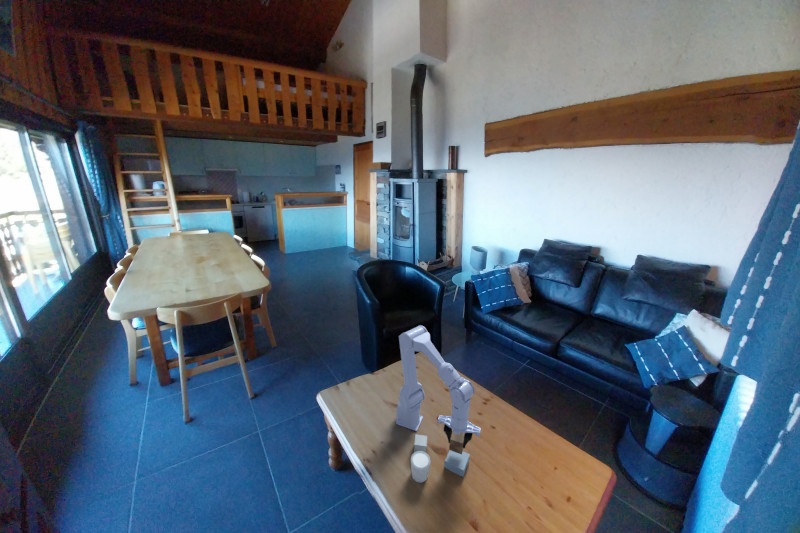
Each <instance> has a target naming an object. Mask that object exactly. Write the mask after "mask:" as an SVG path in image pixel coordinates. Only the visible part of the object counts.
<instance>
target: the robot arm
mask: <svg viewBox="0 0 800 533" xmlns="http://www.w3.org/2000/svg"><path fill="white" fill-rule="evenodd" d="M398 341H399V349H400V359H401V366H402V375H403V385H402V387H401V388H400V390H399V397H398V403H397V406H396V421H395V424H396V425H397V426H398V425H399V426H401V427H404V428H405V429H409V430H412V431H415V432H417V431H418V430H419V427H420V425H421V423H422V421H423V419H424V416H423V415H421V404H422V403H423V401H424V400H425V398H426V394H425V391H424V388H423V385H422V384H421V383H420V382H419V381H418V373H417V366H416V356H415V352H420V353H423V354H424V355H425V357H426V358H428V359H429V361H430V362H431V363H432V365H434V366H435V367H436V368H437V375H438V376H439V378H440V379H441V381H442V382H443V383H444V385H445V386H446V387H447V388H448V390H449V396H450V398H451V403H452V405H451V413H450V414H451V415H441V414H439V416H438V418H437V423H438V424H444V426H443V432H444V433H445V435H446V437H447V441H448V442H447V443H448V444H450V438H451V435H452V431H453V430H454V433H456V434H460V432H462V433H465V435H464V444H463V449H466V446H467V444H468V443H469V442H470V441H471V440H472V437H473V434H475V436H476V437H478V438H479V437H480V436H481V430H482V429H481V427H479V426H476V425H475V424H473V423H471V422H470V421H469V416H470V415H469V414H470V406H471V398H472V397H473V396H474V395H475V387H474V385H473V384H472V382H471V381H470V380H468V379H466V378H465V377H463V376H461V375H460V373H458V371H457V369H455V367H454V366H453V365H452V364H451V363H450V362H446V361H445V360H444V358H443V357H442V356H441V353H440V352H439V351H438V349H437V348H436V347H435V345H434V343H432V341H431V334H430V332H428V330H427V328H426V327H425V326H423V325H421V324H420V325H418V326H416V327H413V328H411V329H410V330H407V331H405V332H402V333H401V334H400V335H398Z"/></svg>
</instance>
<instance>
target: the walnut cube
mask: <svg viewBox="0 0 800 533" xmlns="http://www.w3.org/2000/svg"><path fill="white" fill-rule="evenodd" d="M464 435H465V433H462V432H460V434H456V433H454V430H453V429H452V435H451V438H450V443H449V448H448V449H449V451H450V450H451V451H454V452H456V453H459V454H462V452H463V451H464V448H463V444H464Z"/></svg>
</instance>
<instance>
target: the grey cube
mask: <svg viewBox="0 0 800 533" xmlns="http://www.w3.org/2000/svg"><path fill="white" fill-rule="evenodd" d="M414 436H415V437H414V443H413V453H415V452H417V451H423V452H425V453H427V447H428V435H424V434H415V435H414Z"/></svg>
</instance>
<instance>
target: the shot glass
mask: <svg viewBox="0 0 800 533" xmlns="http://www.w3.org/2000/svg"><path fill="white" fill-rule="evenodd" d="M430 466H431V457H430V455H429V454H428V453H427V452H426V453H425V452H423V451H417V452H415V453H414V452H413V453H412V454H411V457H410V467H411V477H412V479H413V480H414V481H415V482H416V483H423V482H426V480H428V477H429V473H430V472H429V471H430Z"/></svg>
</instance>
